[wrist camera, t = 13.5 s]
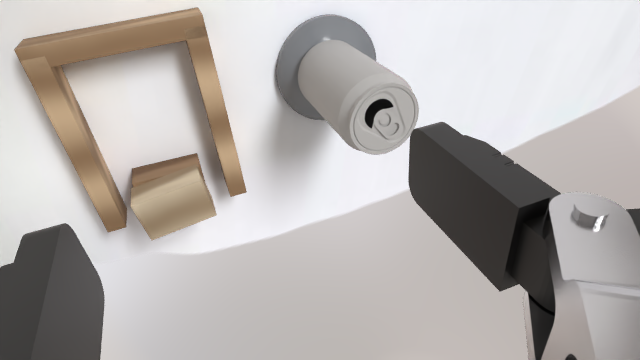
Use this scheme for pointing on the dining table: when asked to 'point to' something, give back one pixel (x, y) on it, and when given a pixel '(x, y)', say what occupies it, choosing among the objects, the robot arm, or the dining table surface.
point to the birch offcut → (172, 202)
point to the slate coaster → (303, 42)
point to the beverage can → (358, 97)
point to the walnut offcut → (163, 169)
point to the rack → (109, 39)
